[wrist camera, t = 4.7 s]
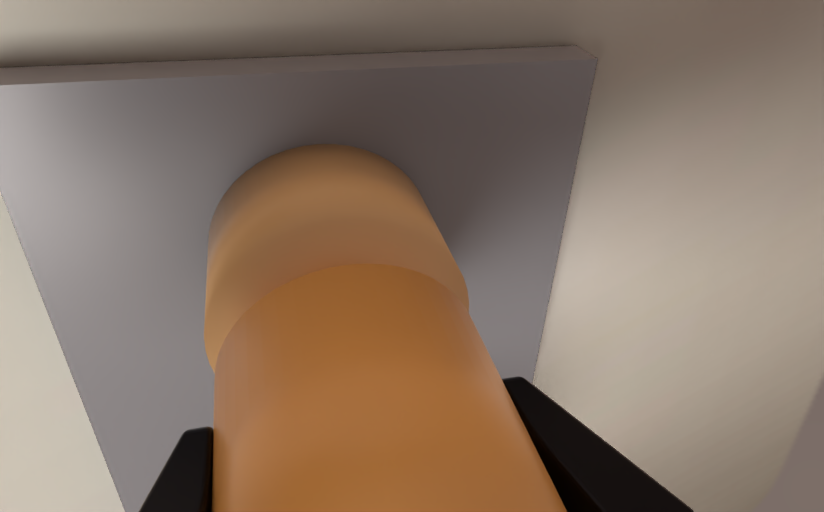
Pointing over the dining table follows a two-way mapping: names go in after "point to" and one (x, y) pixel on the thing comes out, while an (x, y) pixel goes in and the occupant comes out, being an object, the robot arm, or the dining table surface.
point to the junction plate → (209, 122)
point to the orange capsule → (367, 404)
